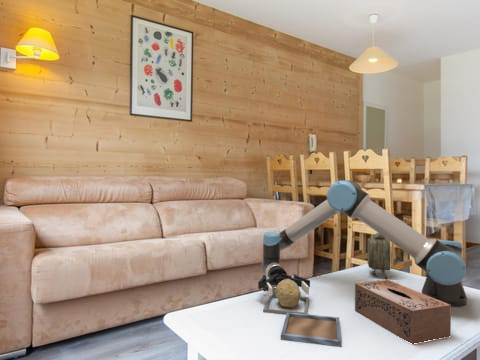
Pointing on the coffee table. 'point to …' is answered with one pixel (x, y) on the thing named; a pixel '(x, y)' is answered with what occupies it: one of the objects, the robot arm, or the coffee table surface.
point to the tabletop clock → (379, 253)
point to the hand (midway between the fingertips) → (289, 291)
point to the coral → (288, 293)
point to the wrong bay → (284, 310)
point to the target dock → (312, 329)
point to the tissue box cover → (403, 311)
